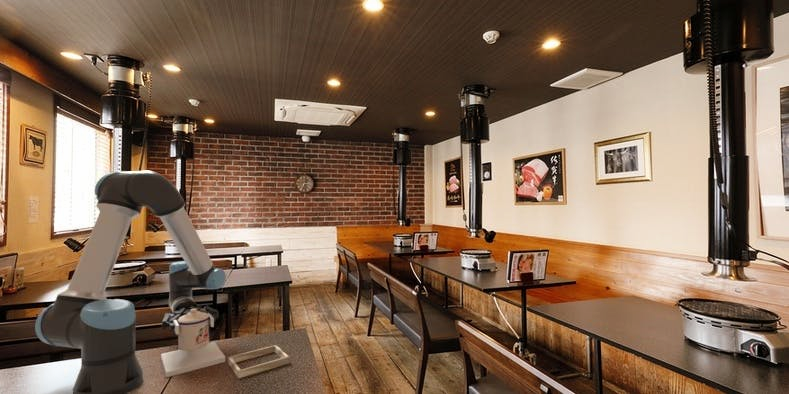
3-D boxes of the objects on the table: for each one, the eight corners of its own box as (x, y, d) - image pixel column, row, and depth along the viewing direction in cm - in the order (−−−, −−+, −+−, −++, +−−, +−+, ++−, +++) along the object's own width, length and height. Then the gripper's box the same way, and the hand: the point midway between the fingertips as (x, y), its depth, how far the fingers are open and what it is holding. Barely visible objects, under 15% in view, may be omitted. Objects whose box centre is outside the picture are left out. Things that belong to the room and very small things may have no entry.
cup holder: (228, 363, 113) (228, 357, 113) (275, 350, 122) (275, 344, 122) (238, 378, 103) (238, 371, 103) (289, 363, 112) (289, 356, 113)
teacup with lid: (200, 351, 111) (200, 313, 110) (171, 351, 110) (170, 314, 110) (219, 335, 123) (218, 302, 122) (192, 336, 122) (192, 302, 122)
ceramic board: (160, 358, 117) (160, 353, 117) (214, 345, 127) (214, 341, 127) (166, 377, 104) (166, 372, 104) (225, 361, 114) (225, 357, 114)
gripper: (217, 312, 137) (232, 329, 119) (148, 326, 123) (154, 347, 106) (217, 293, 137) (232, 307, 119) (148, 304, 123) (153, 322, 105)
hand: (195, 326), depth 112 cm, fingers closed on teacup with lid, 9 cm apart
